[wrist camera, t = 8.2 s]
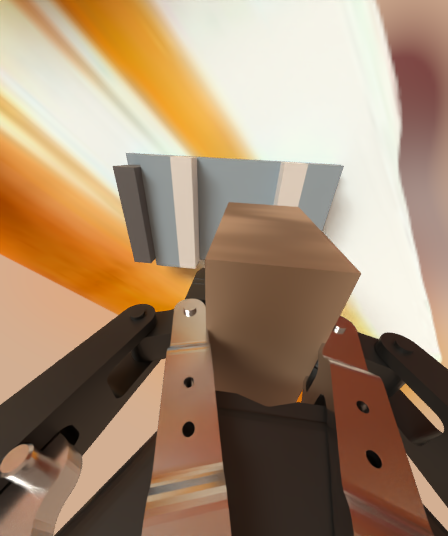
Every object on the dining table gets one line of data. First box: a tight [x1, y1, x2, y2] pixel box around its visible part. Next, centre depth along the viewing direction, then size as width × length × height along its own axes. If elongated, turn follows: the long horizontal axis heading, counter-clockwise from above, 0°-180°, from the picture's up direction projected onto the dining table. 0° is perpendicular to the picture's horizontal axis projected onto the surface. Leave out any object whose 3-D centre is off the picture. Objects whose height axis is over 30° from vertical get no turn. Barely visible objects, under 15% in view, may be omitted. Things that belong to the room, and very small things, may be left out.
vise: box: [126, 153, 344, 260], centre depth 22 cm, size 22×12×4 cm, turn 87°
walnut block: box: [205, 202, 361, 407], centre depth 10 cm, size 4×8×7 cm, turn 177°
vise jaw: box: [113, 155, 200, 269], centre depth 21 cm, size 7×12×4 cm, turn 177°
